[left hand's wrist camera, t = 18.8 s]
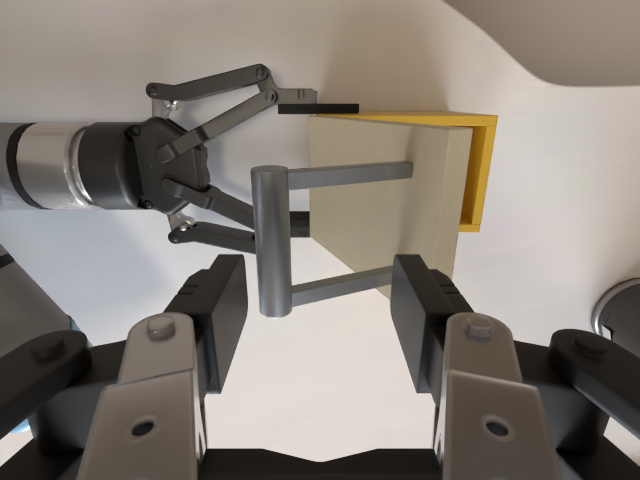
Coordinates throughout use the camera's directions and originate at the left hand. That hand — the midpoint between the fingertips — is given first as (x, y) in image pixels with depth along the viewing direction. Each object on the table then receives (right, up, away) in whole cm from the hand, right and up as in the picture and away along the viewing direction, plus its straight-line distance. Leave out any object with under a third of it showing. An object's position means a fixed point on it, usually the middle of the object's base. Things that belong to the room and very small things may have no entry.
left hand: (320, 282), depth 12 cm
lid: (+3, +4, +10) cm, 11 cm away
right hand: (+3, +8, +21) cm, 23 cm away
